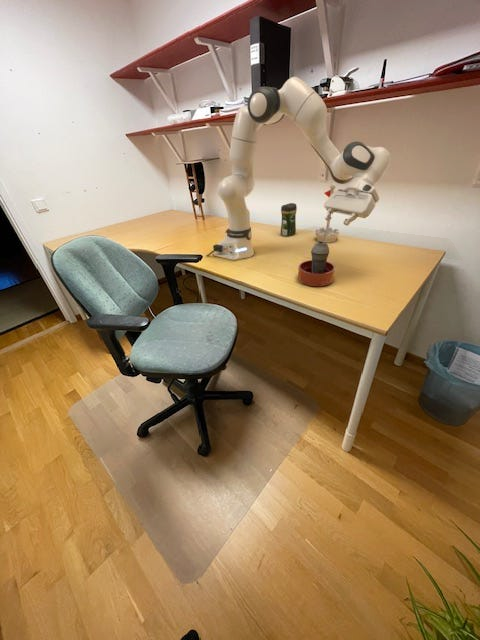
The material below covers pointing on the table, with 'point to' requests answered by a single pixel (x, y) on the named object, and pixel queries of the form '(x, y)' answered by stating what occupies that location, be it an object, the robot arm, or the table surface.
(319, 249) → the beverage cup
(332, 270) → the bowl
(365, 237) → the table surface
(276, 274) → the table surface
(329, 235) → the flag stand
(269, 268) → the table surface
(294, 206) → the coffee jar
